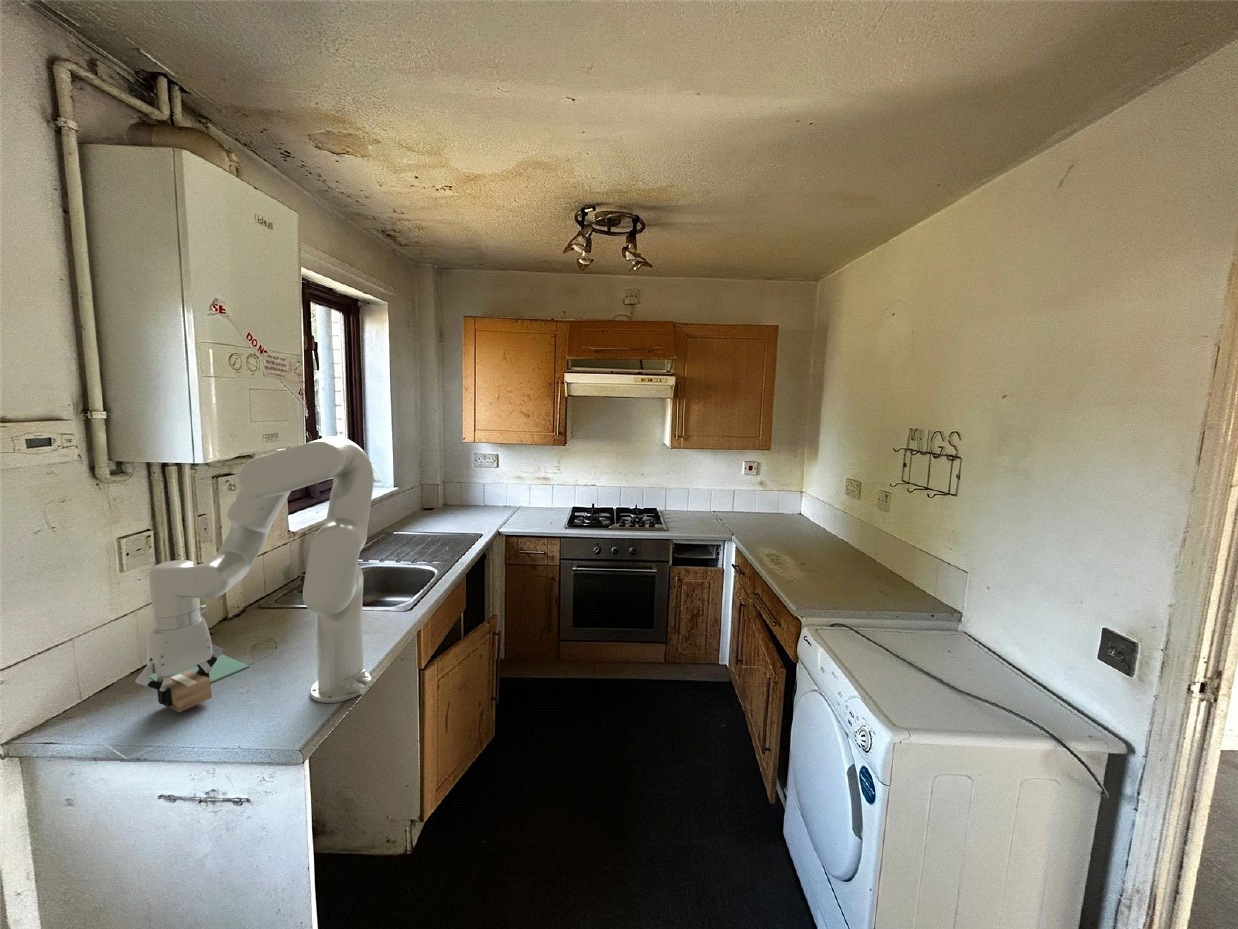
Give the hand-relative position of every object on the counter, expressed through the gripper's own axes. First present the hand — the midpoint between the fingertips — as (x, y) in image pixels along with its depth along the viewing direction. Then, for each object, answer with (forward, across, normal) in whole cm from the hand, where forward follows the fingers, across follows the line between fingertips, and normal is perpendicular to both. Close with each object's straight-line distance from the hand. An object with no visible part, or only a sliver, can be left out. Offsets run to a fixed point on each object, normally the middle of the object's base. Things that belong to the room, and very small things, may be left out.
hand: (185, 696), depth 110 cm
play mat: (+2, -9, -14) cm, 16 cm away
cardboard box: (+1, 0, 0) cm, 1 cm away
